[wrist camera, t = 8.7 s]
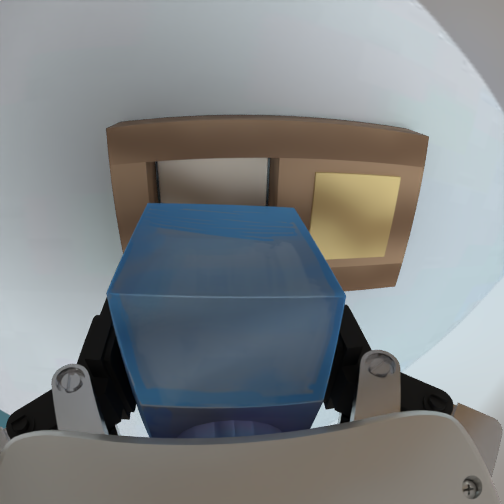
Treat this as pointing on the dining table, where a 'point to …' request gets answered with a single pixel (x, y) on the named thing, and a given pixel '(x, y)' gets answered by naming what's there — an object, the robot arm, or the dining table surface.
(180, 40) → the dining table surface
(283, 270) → the perfume bottle
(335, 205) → the frame
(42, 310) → the dining table surface
